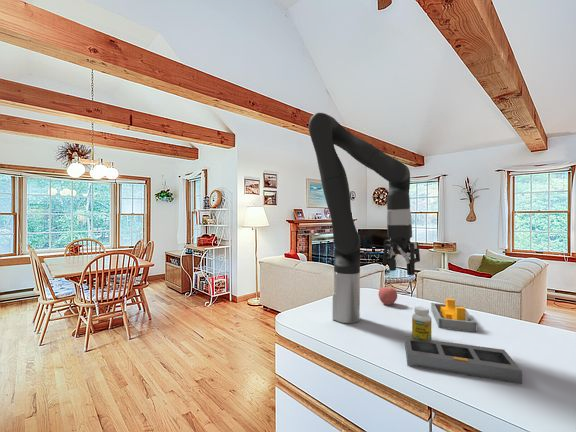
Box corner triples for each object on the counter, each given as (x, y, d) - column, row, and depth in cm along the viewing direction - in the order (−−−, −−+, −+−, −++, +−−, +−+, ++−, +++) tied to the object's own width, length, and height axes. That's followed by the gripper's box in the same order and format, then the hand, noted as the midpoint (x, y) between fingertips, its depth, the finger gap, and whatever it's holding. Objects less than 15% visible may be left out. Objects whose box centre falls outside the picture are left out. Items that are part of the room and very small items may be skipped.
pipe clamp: (440, 314, 113) (440, 298, 112) (452, 315, 112) (453, 298, 112) (451, 326, 101) (451, 307, 101) (465, 327, 100) (465, 308, 100)
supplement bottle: (429, 337, 91) (430, 306, 91) (432, 344, 86) (433, 312, 86) (411, 335, 93) (411, 304, 93) (412, 342, 88) (413, 310, 88)
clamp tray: (438, 327, 99) (438, 318, 99) (431, 310, 117) (431, 302, 117) (476, 332, 96) (476, 322, 96) (462, 313, 114) (462, 305, 113)
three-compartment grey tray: (407, 365, 74) (407, 352, 74) (405, 346, 84) (405, 335, 84) (522, 384, 66) (522, 369, 66) (504, 361, 77) (504, 348, 77)
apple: (375, 302, 128) (375, 283, 128) (390, 301, 129) (390, 283, 129) (384, 307, 120) (384, 288, 120) (400, 306, 122) (400, 287, 122)
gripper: (376, 223, 102) (378, 270, 102) (405, 224, 88) (407, 278, 88) (394, 222, 104) (396, 268, 104) (425, 223, 91) (427, 275, 91)
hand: (401, 272), depth 96 cm, fingers open, 8 cm apart
